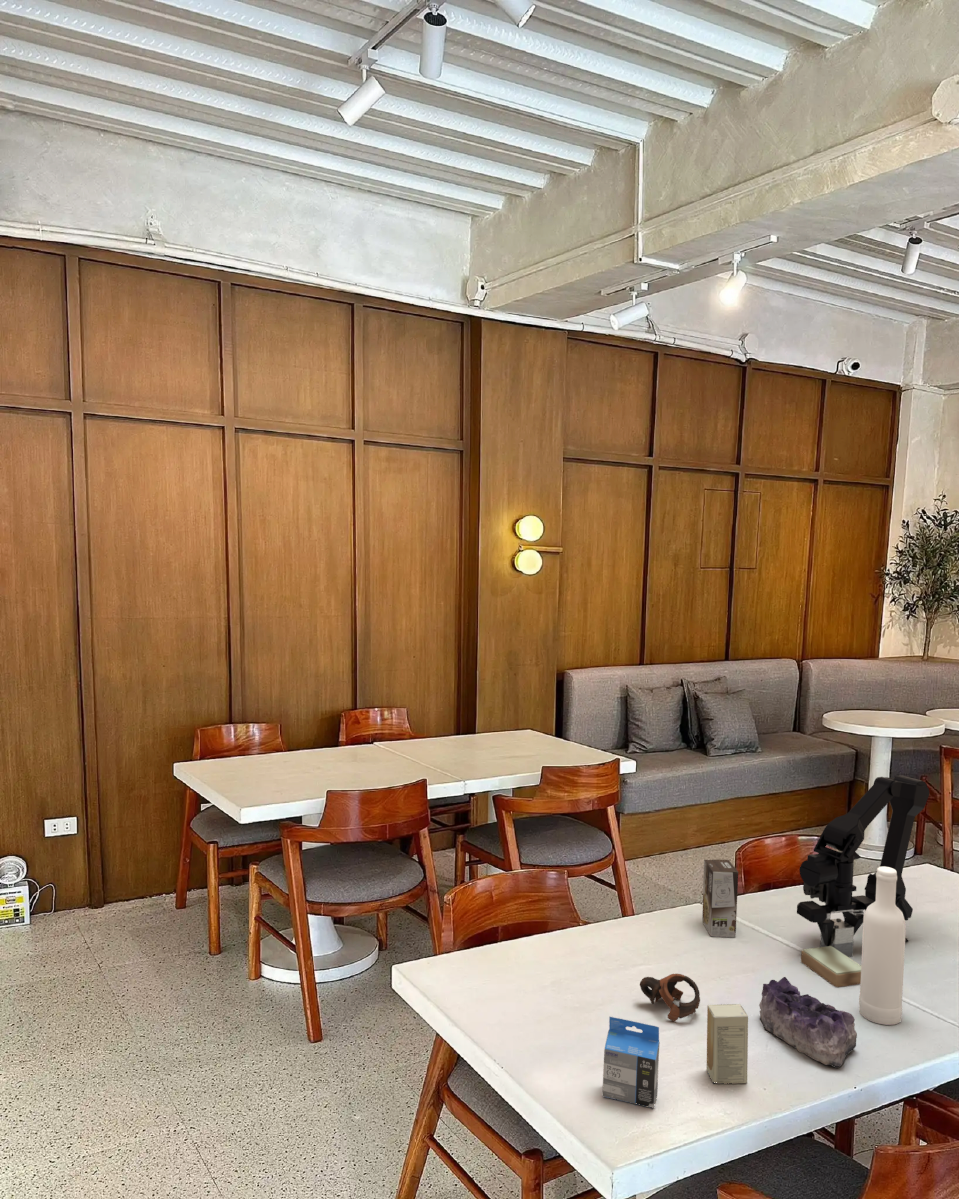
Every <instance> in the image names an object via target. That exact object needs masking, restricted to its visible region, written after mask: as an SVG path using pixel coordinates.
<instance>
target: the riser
mask: <svg viewBox="0 0 959 1199" xmlns="http://www.w3.org/2000/svg"><path fill="white" fill-rule="evenodd" d="M800 952H801V955H800V956H801V957H800V959H801V960H800V963H801V964H803V965H804V966H806V967H807V968H809V969H810V970H811V971H813V972H814V973H816V974H817V975H818V976H820V977H821V978H822V979H824V980H825V981H826V982H828V983H829V984H831V985H832V986H833V987H835V988H840V987H841V988H842V987H847V986H855V985H860V982H861V964H859V963H858V962H857V961H855V960H853V959H852V958H851V957H847V956H846V955H844V954H843V953H841V952H840V951H838V950H837V949H835V948H834V947H832V946H827V947H820V946H819V947H813V948H812V947H811V948H803V949H802V950H801V951H800Z"/></svg>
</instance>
